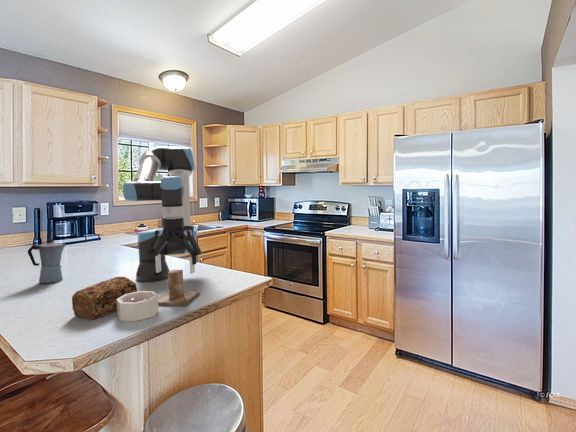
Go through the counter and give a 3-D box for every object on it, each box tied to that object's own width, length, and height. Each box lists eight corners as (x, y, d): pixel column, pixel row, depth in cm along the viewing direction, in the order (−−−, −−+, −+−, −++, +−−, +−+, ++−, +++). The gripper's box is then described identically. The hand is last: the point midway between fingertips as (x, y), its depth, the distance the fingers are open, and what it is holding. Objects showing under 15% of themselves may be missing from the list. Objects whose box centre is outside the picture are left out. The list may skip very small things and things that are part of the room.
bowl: (110, 320, 104) (109, 302, 104) (132, 306, 116) (131, 290, 116) (145, 321, 103) (144, 303, 102) (163, 307, 115) (162, 291, 114)
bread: (119, 298, 125) (117, 274, 124) (139, 302, 121) (137, 276, 120) (71, 317, 108) (69, 288, 107) (92, 321, 104) (90, 292, 103)
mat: (150, 305, 117) (150, 304, 117) (167, 293, 130) (167, 292, 130) (187, 306, 116) (187, 305, 116) (200, 294, 129) (200, 293, 129)
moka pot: (73, 278, 154) (70, 237, 152) (37, 287, 140) (33, 242, 138) (61, 276, 158) (58, 236, 156) (25, 285, 144) (21, 241, 142)
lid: (151, 304, 117) (150, 275, 116) (168, 292, 130) (167, 266, 129) (185, 305, 116) (184, 276, 115) (199, 293, 129) (198, 267, 128)
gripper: (136, 218, 118) (139, 274, 120) (201, 219, 115) (203, 275, 118) (146, 216, 125) (150, 268, 128) (208, 216, 123) (210, 270, 125)
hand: (175, 272), depth 123 cm, fingers open, 13 cm apart
